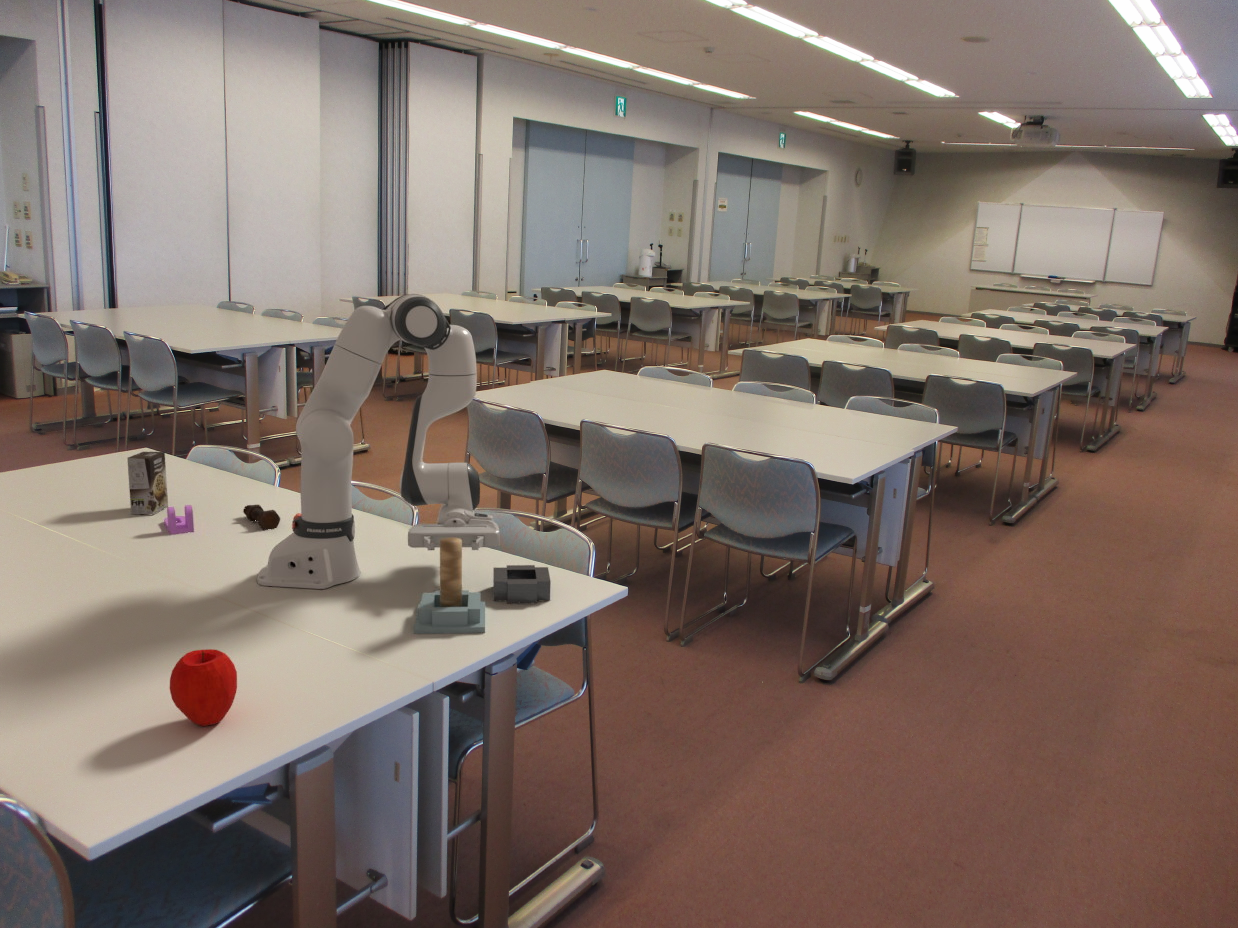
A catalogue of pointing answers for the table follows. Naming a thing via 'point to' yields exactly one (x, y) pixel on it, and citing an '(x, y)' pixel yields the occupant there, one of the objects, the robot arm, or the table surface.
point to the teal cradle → (450, 615)
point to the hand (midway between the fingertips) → (453, 546)
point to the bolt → (262, 516)
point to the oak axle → (451, 572)
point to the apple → (204, 686)
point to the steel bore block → (521, 584)
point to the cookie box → (147, 482)
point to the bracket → (185, 521)
